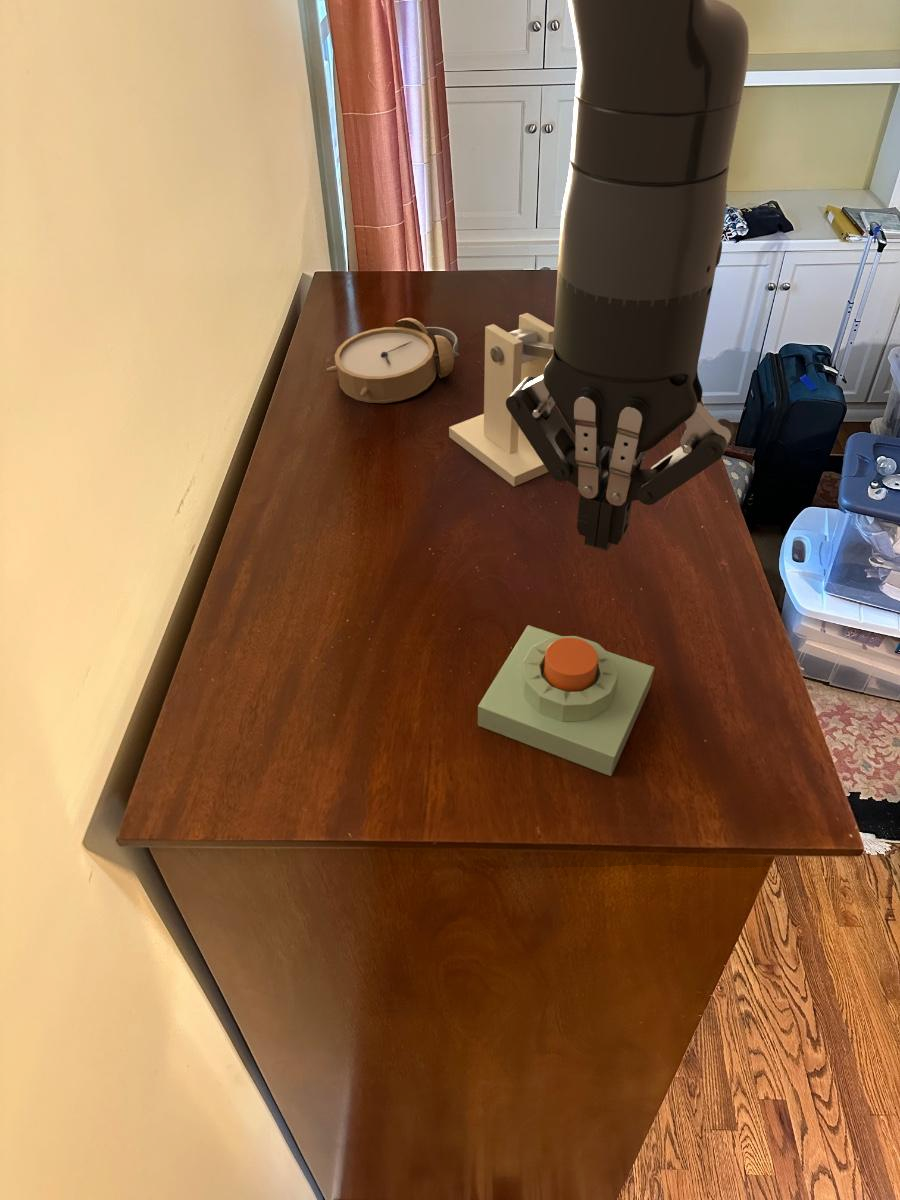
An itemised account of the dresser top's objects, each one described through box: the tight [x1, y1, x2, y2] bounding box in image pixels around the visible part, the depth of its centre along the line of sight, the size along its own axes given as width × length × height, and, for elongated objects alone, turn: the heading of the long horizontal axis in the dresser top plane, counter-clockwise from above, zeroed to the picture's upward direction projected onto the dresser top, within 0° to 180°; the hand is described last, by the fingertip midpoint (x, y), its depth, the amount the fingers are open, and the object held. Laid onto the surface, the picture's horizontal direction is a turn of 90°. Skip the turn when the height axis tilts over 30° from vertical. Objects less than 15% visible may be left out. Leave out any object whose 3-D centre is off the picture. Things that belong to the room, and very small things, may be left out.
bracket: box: [448, 312, 554, 487], centre depth 84 cm, size 11×9×13 cm
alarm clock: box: [326, 317, 460, 404], centre depth 98 cm, size 11×5×15 cm
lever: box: [508, 328, 554, 363], centre depth 76 cm, size 13×6×2 cm, turn 35°
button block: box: [477, 624, 655, 777], centre depth 61 cm, size 10×9×4 cm
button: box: [544, 638, 598, 692], centre depth 60 cm, size 4×4×2 cm
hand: (601, 540), depth 53 cm, fingers closed
